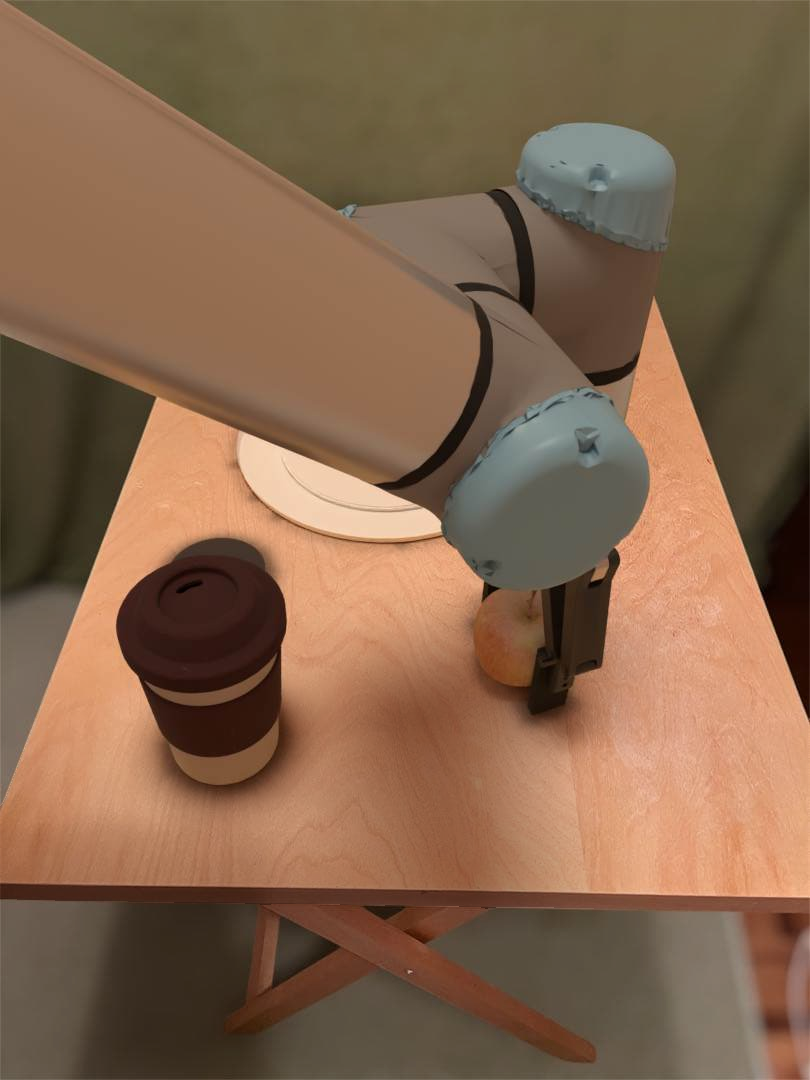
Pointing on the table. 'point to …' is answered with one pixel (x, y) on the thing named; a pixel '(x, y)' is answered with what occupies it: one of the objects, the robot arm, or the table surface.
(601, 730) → the table surface
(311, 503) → the plate
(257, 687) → the coffee cup
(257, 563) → the slate coaster
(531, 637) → the fruit
